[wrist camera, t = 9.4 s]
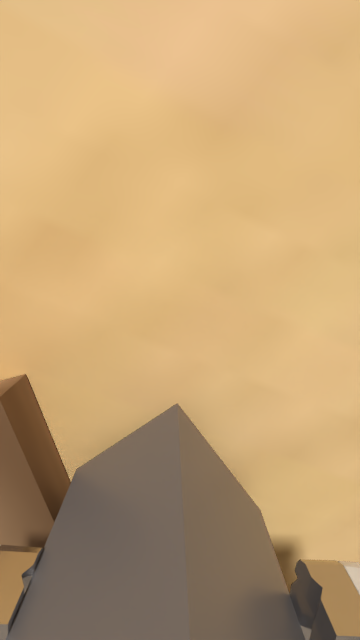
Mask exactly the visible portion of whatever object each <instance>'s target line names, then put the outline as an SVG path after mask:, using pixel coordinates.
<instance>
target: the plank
mask: <svg viewBox="0 0 360 640" xmlns="http://www.w3.org/2000/svg"><path fill="white" fill-rule="evenodd" d="M70 484H71V483H70V481H69V478H68V476H67V473H66V471H65V468H64V466H63V464H62V461H61V459H60V456H59V454H58V451H57V449H56V447H55V444H54V442H53V439H52V437H51V434H50V432H49V430H48V427H47V425H46V422H45V420H44V418H43V415H42V413H41V410H40V408H39V405H38V403H37V401H36V398H35V396H34V393H33V391H32V388H31V386H30V384H29V381H28V379H27V376H26V374H25V375H21V376H17V377H13V378H10V379H6V380H2V381H0V545H13V546H25V547H38V548H44V546H45V544H46V541H47V539H48V537H49V534H50V532H51V529H52V527H53V525H54V522H55V520H56V517H57V515H58V513H59V510H60V508H61V505H62V503H63V501H64V498H65V496H66V493H67V491H68V489H69V486H70Z"/></svg>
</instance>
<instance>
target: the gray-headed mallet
mask: <svg viewBox="0 0 360 640" xmlns="http://www.w3.org/2000/svg"><path fill="white" fill-rule="evenodd" d="M6 640H305V637H304V634H303V631H302V628H301V625H300V624H299V621H298V618H297V615H296V612H295V609H294V606H293V603H292V600H291V597H290V594H289V591H288V588H287V585H286V582H285V579H284V577H283V574H282V571H281V568H280V565H279V562H278V559H277V556H276V554H275V551H274V548H273V545H272V542H271V539H270V536H269V533H268V531H267V528H266V525H265V522H264V519H263V516H262V513H261V510H260V509H259V508H258V506H257V505H256V504H255V503H254V501H253V500H252V499H251V497H250V496H249V495H248V494H247V492H246V491H245V490H244V488H243V487H242V486H241V485H240V483H239V482H238V481H237V479H236V478H235V477H234V476H233V474H232V473H231V472H230V470H229V469H228V468H227V467H226V465H225V464H224V463H223V461H222V460H221V459H220V458H219V456H218V455H217V454H216V452H215V451H214V450H213V449H212V447H211V446H210V445H209V443H208V442H207V441H206V439H205V438H204V437H203V436H202V434H201V433H200V432H199V430H198V429H197V428H196V427H195V425H194V424H193V423H192V421H191V420H190V419H189V418H188V416H187V415H186V414H185V412H184V411H183V410H182V409H181V407H180V406H179V405H178V403H177V404H176V405H174V406H173V407H171V408H169V409H168V410H166V411H165V412H163V413H162V414H160V415H159V416H157V417H156V418H154V419H153V420H151V421H150V422H148V423H146V424H145V425H143V426H142V427H140V428H139V429H137V430H136V431H134V432H133V433H131V434H130V435H128V436H127V437H125V438H124V439H122V440H120V441H119V442H117V443H116V444H114V445H113V446H111V447H110V448H108V449H107V450H105V451H104V452H102V453H101V454H99V455H98V456H96V457H94V458H93V459H91V460H90V461H88V462H87V463H85V464H84V465H82V466H81V467H79V468H78V469H76V472H75V474H74V477H73V479H72V481H71V484H70V486H69V489H68V491H67V493H66V496H65V498H64V501H63V503H62V505H61V508H60V510H59V513H58V515H57V517H56V520H55V522H54V525H53V527H52V529H51V532H50V534H49V537H48V539H47V541H46V544H45V546H44V550H43V552H42V555H41V557H40V560H39V562H38V564H37V567H36V569H35V572H34V574H33V575H32V577H31V580H30V582H29V585H28V587H27V589H26V592H25V594H24V598H23V601H22V603H21V605H20V608H19V610H18V613H17V615H16V617H15V620H14V622H13V624H12V627H11V629H10V632H9V634H8V635H7V637H6Z"/></svg>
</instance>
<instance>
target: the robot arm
mask: <svg viewBox="0 0 360 640" xmlns="http://www.w3.org/2000/svg"><path fill="white" fill-rule="evenodd" d="M43 550H44V548H38V547H25V546H13V545H0V640H6V637H7V635H8V634H9V632H10V629H11V627H12V624H13V622H14V620H15V617H16V615H17V613H18V610H19V608H20V605H21V603H22V601H23V598H24V594H25V592H26V589H27V587H28V585H29V582H30V580H31V577H32V575H33V574H34V572H35V569H36V567H37V564H38V562H39V560H40V557H41V555H42V552H43ZM295 572H296V575H297V578H298V579H297V580H296V581H295V582H294V583H293V584H292V585H291V590H290V597H291V600H292V603H293V606H294V609H295V612H296V615H297V618H298V621H299V624H300V625H301V628H302V631H303V634H304V637H305V640H360V564H359V563H358V562H345V561H334V560H302V559H300V560H299V561H298V562H297V564H296V568H295Z"/></svg>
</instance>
